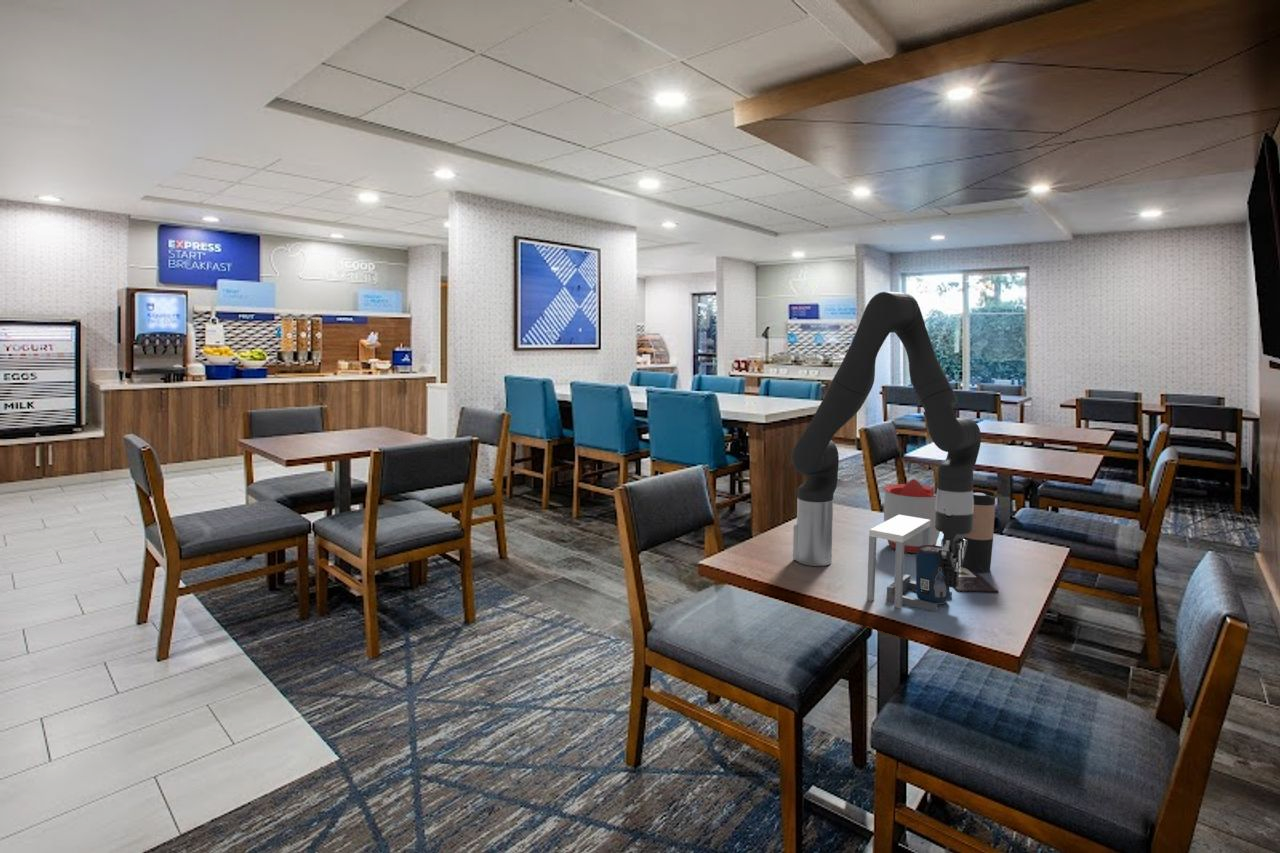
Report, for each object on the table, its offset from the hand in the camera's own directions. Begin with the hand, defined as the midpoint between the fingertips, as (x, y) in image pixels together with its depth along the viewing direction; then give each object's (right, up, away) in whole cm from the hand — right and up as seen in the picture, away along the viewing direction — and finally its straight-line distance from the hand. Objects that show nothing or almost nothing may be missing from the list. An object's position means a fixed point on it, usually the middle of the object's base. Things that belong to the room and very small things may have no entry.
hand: (952, 586), depth 146 cm
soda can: (-3, -4, +4) cm, 6 cm away
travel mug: (+18, -2, +25) cm, 31 cm away
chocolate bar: (+11, -3, +18) cm, 21 cm away
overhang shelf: (-6, -4, +7) cm, 10 cm away
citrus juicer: (+9, 0, +42) cm, 43 cm away
